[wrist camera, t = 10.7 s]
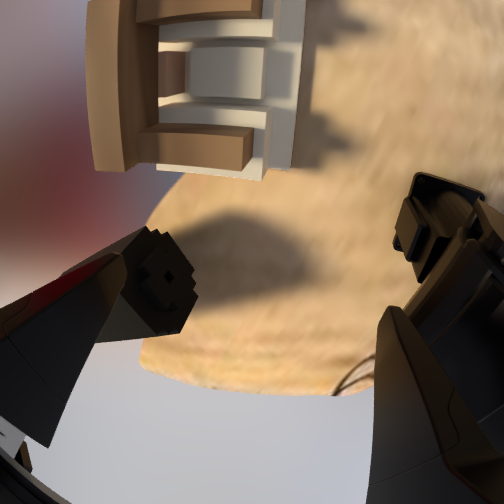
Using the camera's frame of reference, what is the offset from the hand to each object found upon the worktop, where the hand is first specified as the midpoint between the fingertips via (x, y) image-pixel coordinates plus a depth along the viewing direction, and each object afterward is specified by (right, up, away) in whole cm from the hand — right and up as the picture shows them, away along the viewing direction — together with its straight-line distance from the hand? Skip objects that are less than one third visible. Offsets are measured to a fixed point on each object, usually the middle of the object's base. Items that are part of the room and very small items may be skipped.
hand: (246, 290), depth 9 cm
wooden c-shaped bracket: (-4, +11, +5) cm, 13 cm away
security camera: (-12, +1, +20) cm, 23 cm away
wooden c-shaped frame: (-3, +13, +8) cm, 16 cm away
